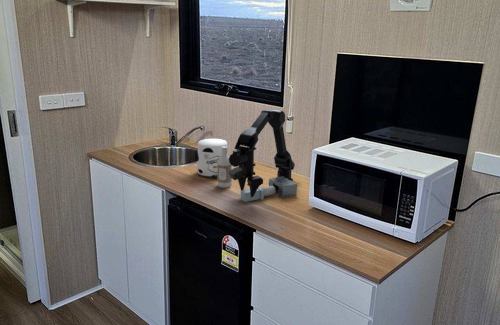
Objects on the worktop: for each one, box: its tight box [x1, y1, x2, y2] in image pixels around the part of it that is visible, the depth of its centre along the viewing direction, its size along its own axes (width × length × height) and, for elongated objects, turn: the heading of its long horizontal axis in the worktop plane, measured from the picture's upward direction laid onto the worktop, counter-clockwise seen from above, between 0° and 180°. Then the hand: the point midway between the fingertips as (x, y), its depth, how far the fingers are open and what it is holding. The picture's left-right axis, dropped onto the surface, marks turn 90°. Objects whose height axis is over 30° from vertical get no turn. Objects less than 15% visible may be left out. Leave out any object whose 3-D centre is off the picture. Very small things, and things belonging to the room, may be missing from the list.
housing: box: [268, 176, 298, 199], centre depth 209 cm, size 8×12×6 cm, turn 30°
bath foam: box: [217, 146, 233, 189], centre depth 215 cm, size 7×7×20 cm
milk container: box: [196, 138, 228, 178], centre depth 231 cm, size 17×17×18 cm
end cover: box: [240, 185, 277, 203], centre depth 202 cm, size 16×6×5 cm, turn 120°
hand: (246, 193), depth 199 cm, fingers open, 9 cm apart
